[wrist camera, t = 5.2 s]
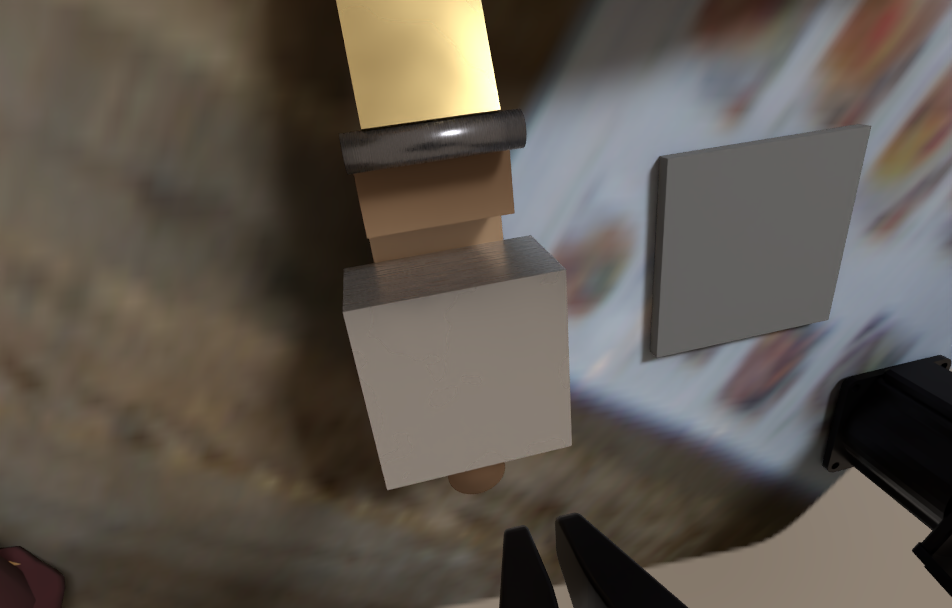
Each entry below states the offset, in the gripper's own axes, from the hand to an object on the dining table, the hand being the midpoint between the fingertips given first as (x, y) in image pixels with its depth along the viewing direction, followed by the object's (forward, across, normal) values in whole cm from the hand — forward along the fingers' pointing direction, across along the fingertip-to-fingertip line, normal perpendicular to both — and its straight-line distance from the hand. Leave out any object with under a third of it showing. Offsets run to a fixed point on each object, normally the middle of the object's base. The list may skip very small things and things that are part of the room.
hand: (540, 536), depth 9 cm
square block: (+9, 0, +1) cm, 9 cm away
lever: (+9, 0, -9) cm, 13 cm away
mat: (+13, -14, +1) cm, 19 cm away
